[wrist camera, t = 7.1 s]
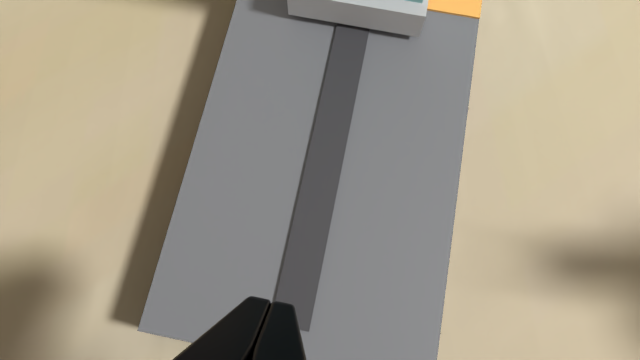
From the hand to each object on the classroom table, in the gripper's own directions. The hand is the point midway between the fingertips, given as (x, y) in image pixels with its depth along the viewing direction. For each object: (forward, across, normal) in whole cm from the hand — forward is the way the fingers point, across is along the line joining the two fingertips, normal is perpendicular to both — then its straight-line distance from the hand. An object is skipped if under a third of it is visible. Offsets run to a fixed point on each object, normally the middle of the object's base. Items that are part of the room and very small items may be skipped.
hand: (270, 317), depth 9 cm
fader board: (+10, 0, +1) cm, 11 cm away
